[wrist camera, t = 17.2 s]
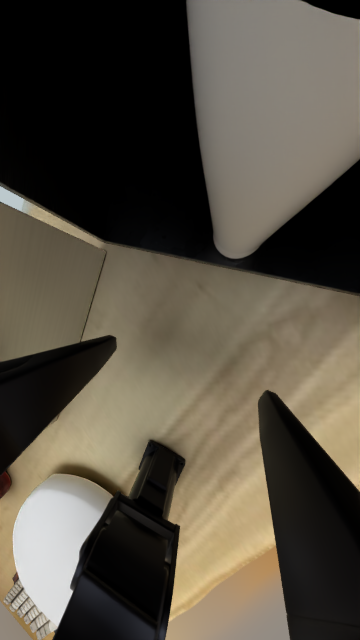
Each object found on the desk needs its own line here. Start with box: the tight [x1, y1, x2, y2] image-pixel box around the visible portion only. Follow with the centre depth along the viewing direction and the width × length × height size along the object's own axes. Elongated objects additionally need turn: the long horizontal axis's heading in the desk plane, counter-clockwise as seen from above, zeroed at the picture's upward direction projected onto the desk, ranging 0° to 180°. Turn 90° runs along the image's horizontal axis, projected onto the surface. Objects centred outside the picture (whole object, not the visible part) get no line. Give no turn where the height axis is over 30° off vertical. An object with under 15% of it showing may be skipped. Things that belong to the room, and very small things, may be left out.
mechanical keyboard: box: [4, 573, 58, 640], centre depth 34 cm, size 38×19×3 cm, turn 146°
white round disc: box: [13, 474, 113, 627], centre depth 26 cm, size 28×6×27 cm
